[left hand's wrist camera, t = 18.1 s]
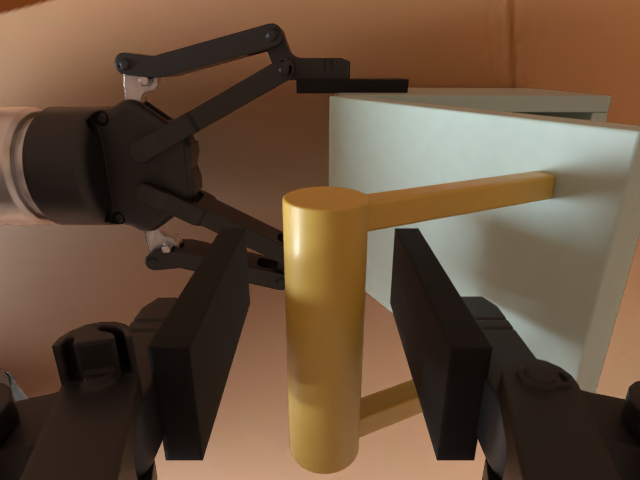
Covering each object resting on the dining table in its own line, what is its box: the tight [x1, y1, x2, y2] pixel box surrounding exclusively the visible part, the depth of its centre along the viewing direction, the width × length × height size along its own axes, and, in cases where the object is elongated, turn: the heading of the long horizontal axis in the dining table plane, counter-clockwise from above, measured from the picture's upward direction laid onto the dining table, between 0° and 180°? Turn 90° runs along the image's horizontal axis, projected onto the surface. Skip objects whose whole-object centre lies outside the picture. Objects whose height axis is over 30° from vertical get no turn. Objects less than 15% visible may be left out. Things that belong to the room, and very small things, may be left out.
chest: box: [335, 88, 612, 122], centre depth 30 cm, size 14×9×10 cm, turn 90°
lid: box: [282, 96, 640, 474], centre depth 17 cm, size 15×9×9 cm
